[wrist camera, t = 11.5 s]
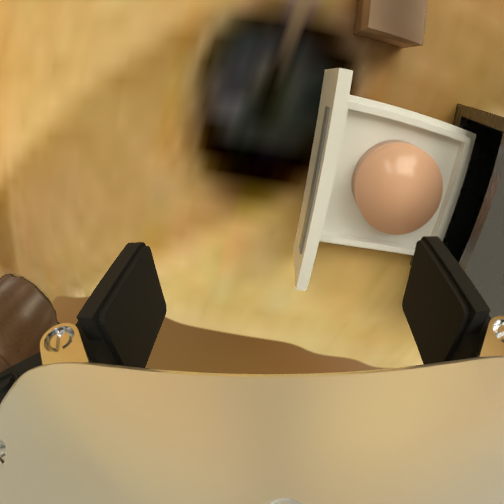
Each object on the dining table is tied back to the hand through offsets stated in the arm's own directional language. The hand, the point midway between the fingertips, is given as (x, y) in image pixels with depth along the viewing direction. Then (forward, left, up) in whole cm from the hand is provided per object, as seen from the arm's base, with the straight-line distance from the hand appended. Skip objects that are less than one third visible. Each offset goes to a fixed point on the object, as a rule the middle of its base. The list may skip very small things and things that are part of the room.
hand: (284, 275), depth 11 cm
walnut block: (+6, +13, -16) cm, 22 cm away
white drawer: (+9, 0, -15) cm, 17 cm away
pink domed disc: (+9, 0, -14) cm, 17 cm away
